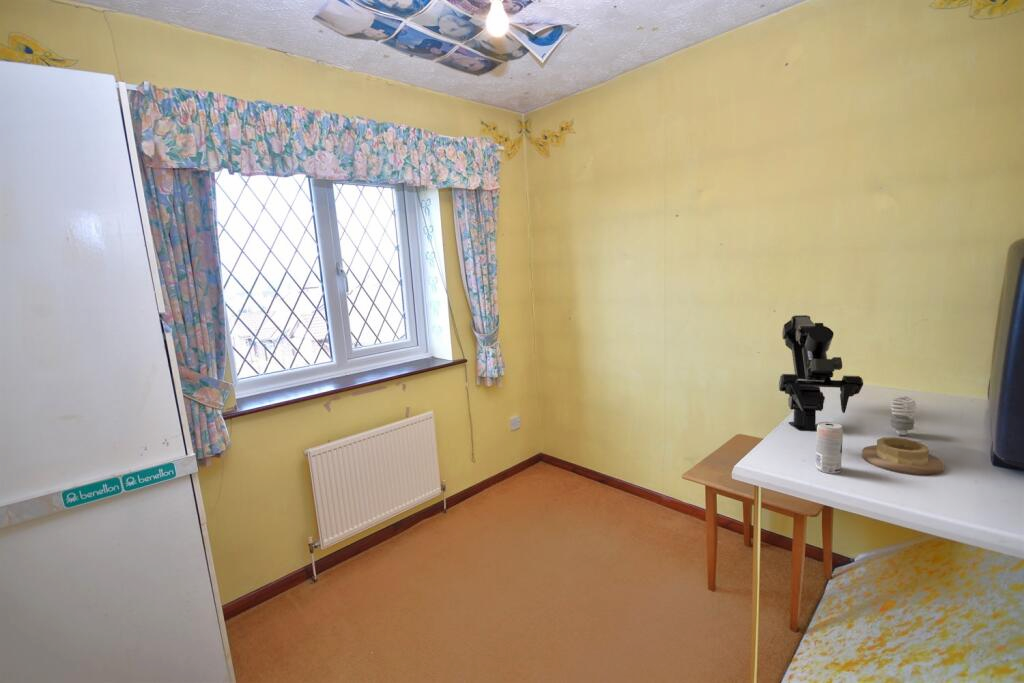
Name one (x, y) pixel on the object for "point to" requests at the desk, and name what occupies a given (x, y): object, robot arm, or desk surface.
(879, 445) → the can stand
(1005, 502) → the desk surface
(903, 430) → the light bulb
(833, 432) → the energy drink
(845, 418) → the desk surface
